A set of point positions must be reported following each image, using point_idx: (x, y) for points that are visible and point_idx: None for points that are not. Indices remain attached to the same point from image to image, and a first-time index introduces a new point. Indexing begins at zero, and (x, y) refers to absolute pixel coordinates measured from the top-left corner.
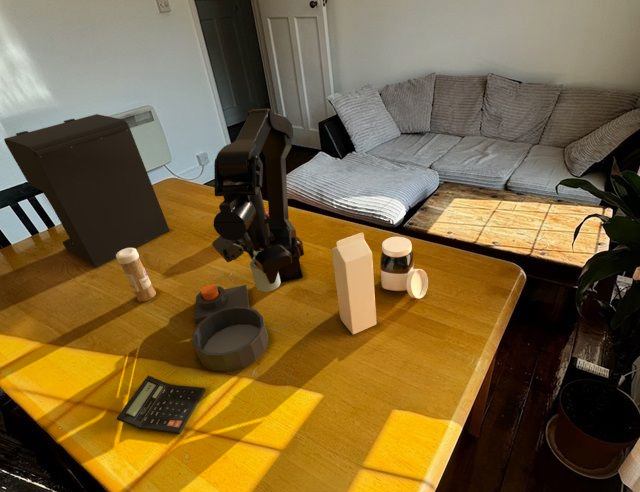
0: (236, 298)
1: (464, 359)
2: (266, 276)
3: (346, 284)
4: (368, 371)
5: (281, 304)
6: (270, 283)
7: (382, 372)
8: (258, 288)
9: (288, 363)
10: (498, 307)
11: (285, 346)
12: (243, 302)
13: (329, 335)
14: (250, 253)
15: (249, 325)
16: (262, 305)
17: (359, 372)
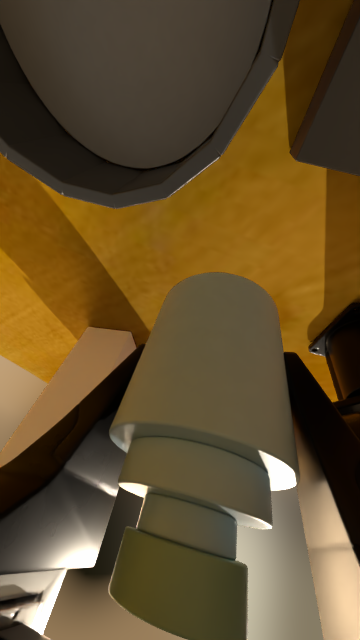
0: None
1: (34, 370)
2: (118, 382)
3: (12, 440)
4: (10, 305)
5: (252, 269)
6: (139, 346)
7: (10, 316)
8: (192, 282)
9: (21, 198)
10: None
11: (81, 214)
12: (351, 145)
13: (96, 301)
14: (349, 552)
15: (214, 125)
16: (298, 217)
17: (7, 296)
